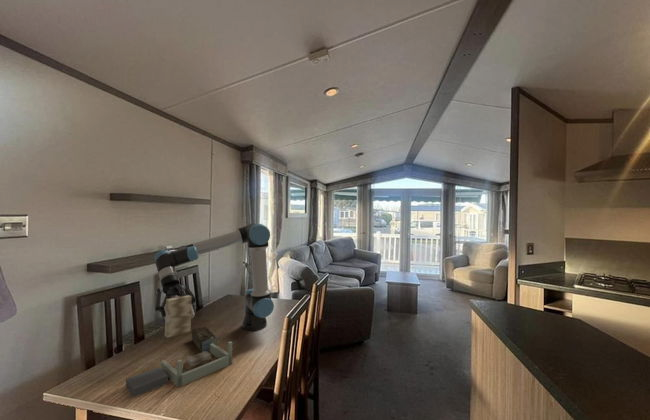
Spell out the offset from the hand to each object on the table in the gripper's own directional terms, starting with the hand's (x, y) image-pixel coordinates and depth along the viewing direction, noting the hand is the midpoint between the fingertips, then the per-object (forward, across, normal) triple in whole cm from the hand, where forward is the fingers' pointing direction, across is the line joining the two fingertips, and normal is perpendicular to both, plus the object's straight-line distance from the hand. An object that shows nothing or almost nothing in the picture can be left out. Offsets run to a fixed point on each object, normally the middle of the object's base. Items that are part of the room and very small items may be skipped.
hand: (181, 319), depth 126 cm
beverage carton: (+4, -19, -28) cm, 34 cm away
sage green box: (+18, -7, -14) cm, 24 cm away
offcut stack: (+20, -6, -12) cm, 24 cm away
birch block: (+3, 0, -7) cm, 8 cm away
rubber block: (+17, +13, -15) cm, 26 cm away
